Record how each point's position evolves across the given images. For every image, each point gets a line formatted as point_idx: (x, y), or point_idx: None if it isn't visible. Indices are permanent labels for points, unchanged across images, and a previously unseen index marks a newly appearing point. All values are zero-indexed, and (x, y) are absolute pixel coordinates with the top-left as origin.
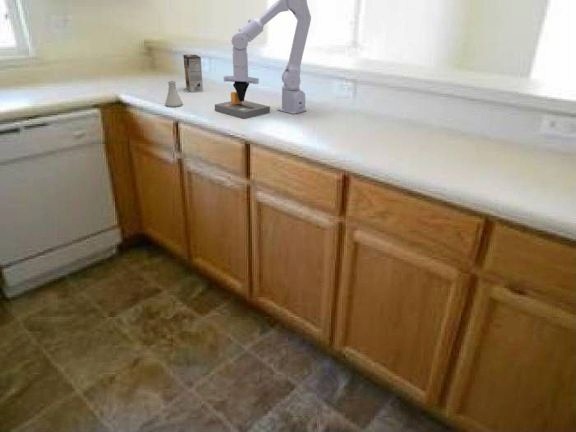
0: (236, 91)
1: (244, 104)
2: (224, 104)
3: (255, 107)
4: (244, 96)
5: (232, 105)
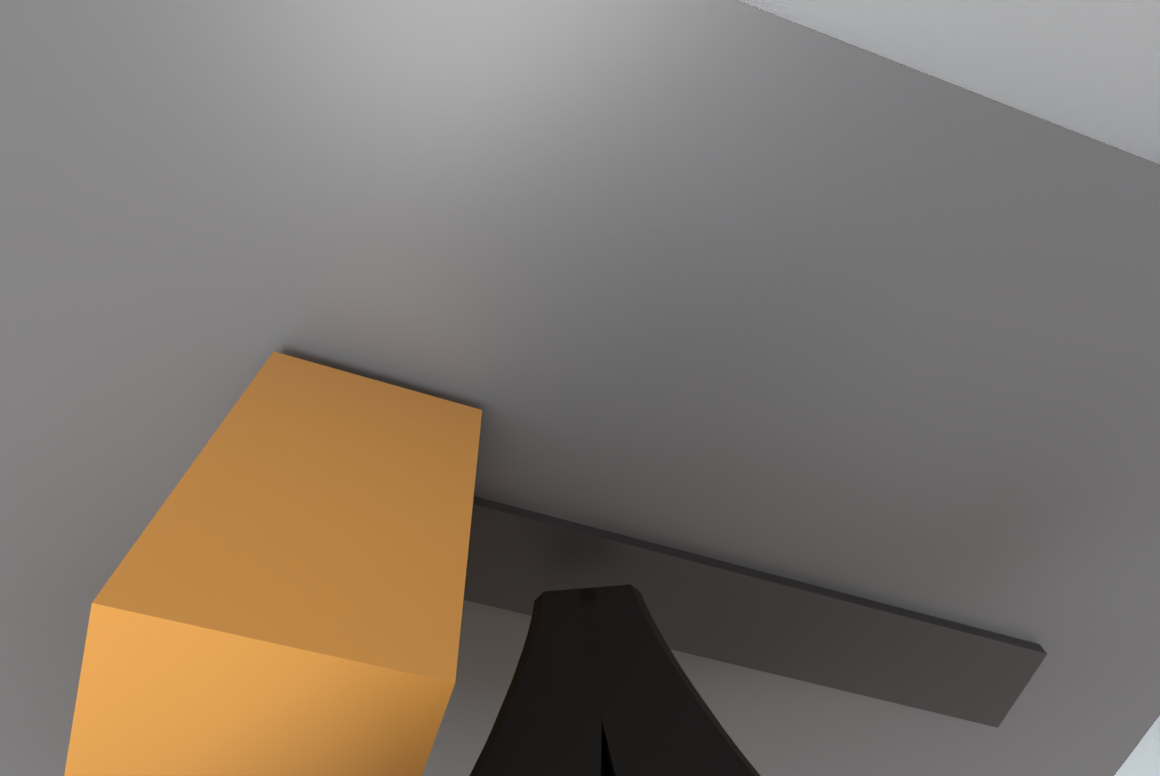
0: (83, 720)
1: (589, 437)
2: (57, 707)
3: (1055, 582)
4: (677, 684)
5: None
